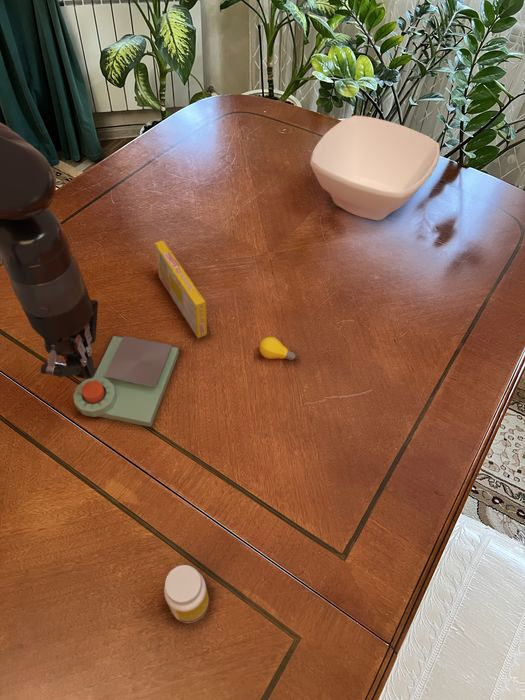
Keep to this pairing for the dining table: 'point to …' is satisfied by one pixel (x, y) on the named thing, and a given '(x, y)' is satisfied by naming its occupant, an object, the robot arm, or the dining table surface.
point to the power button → (93, 392)
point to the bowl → (373, 165)
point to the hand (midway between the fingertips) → (86, 373)
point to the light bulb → (274, 349)
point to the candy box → (181, 289)
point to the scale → (125, 392)
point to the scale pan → (139, 361)
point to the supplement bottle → (186, 594)
